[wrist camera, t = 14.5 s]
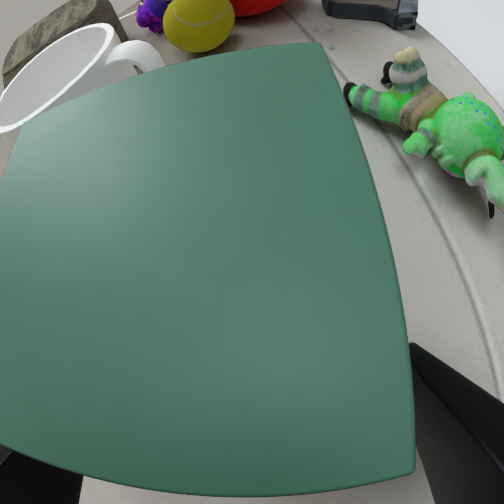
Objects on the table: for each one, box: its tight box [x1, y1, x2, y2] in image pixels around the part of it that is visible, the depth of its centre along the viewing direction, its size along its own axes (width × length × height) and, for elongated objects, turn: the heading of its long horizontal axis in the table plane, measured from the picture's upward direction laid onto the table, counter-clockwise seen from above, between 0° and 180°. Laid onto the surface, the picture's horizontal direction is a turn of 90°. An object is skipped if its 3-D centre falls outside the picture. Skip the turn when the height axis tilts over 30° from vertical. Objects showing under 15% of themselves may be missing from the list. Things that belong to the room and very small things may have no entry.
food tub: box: [0, 42, 416, 497], centre depth 10 cm, size 6×6×13 cm
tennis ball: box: [163, 0, 235, 53], centre depth 24 cm, size 7×7×7 cm
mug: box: [0, 23, 166, 149], centre depth 19 cm, size 13×10×10 cm
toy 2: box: [343, 47, 504, 219], centre depth 17 cm, size 10×7×15 cm
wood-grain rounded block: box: [2, 0, 134, 89], centre depth 26 cm, size 14×9×25 cm
